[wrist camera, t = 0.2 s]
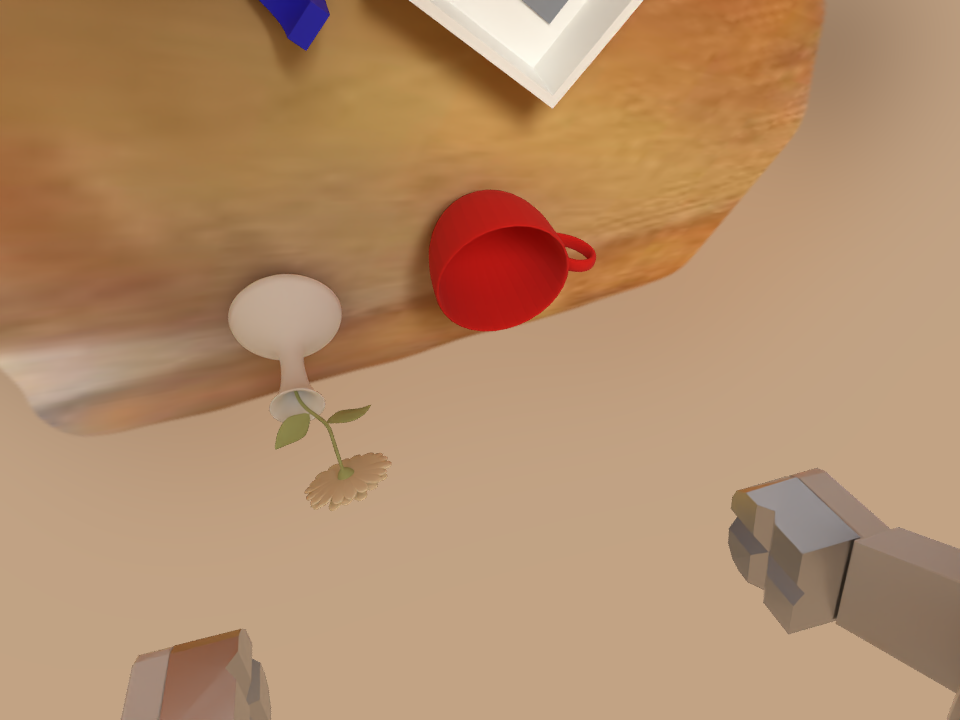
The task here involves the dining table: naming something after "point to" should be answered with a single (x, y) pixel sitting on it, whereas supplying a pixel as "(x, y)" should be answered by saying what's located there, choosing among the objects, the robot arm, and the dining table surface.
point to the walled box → (534, 36)
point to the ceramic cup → (499, 261)
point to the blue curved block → (299, 18)
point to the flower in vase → (302, 373)
